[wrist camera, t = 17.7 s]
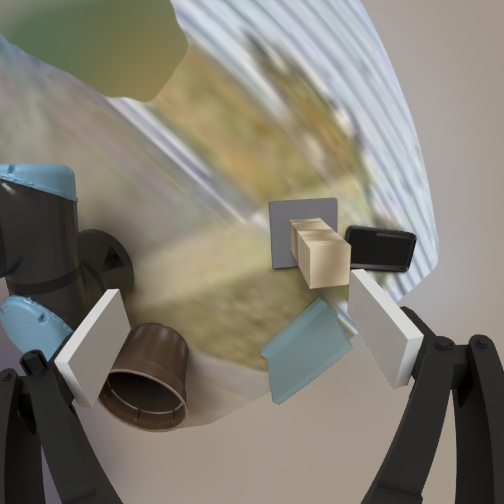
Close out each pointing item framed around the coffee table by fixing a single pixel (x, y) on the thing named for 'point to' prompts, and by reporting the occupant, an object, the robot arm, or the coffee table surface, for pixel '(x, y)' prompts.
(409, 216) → the coffee table surface
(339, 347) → the standing board
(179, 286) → the coffee table surface
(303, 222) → the tall tan block
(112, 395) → the plant pot
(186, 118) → the coffee table surface
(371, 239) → the phone
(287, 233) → the charcoal mat
